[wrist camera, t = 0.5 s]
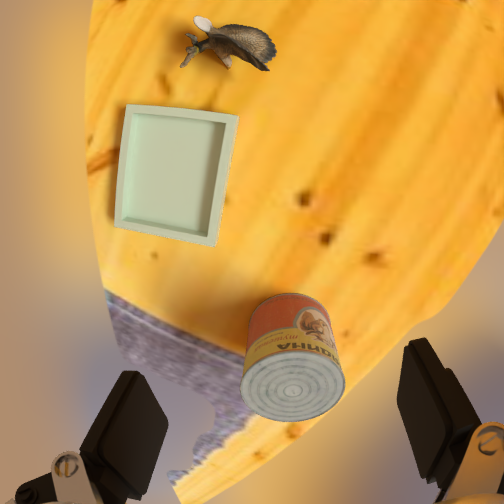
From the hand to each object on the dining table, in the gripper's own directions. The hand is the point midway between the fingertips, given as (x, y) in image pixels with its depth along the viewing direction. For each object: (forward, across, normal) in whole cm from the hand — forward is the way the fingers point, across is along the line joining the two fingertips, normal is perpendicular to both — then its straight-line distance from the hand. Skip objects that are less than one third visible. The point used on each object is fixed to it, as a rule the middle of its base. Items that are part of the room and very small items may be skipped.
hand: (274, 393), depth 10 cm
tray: (+28, +11, -7) cm, 31 cm away
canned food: (+28, +1, +17) cm, 33 cm away
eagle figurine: (+28, +1, -19) cm, 34 cm away
